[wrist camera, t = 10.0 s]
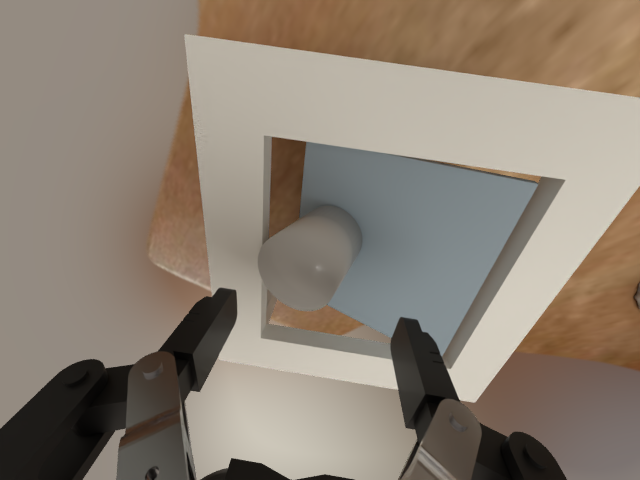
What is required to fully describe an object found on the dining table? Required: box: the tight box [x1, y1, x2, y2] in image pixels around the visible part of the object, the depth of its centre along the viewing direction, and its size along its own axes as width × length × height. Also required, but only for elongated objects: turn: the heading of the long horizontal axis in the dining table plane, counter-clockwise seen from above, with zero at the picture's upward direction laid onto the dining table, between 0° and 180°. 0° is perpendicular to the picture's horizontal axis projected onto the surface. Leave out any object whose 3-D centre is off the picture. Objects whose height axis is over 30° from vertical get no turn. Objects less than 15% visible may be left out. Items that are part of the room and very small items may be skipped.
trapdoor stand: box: [184, 34, 640, 402], centre depth 22 cm, size 22×22×16 cm
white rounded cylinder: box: [258, 206, 362, 311], centre depth 17 cm, size 5×5×6 cm
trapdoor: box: [299, 142, 538, 356], centre depth 19 cm, size 14×14×1 cm
